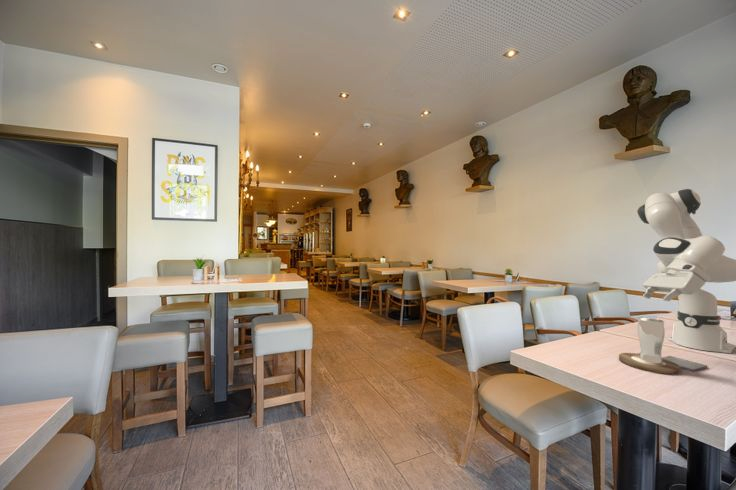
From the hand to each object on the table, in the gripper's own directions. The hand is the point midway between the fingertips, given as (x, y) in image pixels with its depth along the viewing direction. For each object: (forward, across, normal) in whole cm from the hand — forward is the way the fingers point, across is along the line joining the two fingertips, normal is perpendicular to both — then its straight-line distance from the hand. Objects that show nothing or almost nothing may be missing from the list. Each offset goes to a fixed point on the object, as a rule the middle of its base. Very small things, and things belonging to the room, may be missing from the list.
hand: (654, 298), depth 111 cm
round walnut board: (+22, +5, +11) cm, 25 cm away
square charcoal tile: (+13, +2, +20) cm, 24 cm away
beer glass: (+20, +6, +10) cm, 24 cm away
